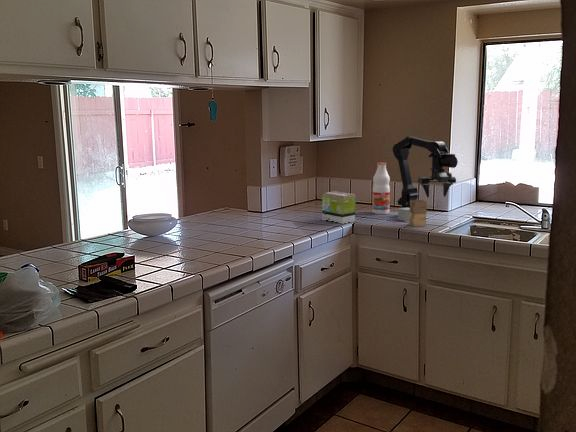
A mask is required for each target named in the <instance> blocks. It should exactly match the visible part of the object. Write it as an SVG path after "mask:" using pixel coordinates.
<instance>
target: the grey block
mask: <svg viewBox="0 0 576 432" xmlns="http://www.w3.org/2000/svg"><path fill="white" fill-rule="evenodd" d="M397 210H398V211H397V219H399V220H398V221H402V220H403V222H410V208H408V207H407V208H401V207H399V208H398V209H397Z"/></svg>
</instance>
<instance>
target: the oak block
mask: <svg viewBox="0 0 576 432" xmlns="http://www.w3.org/2000/svg"><path fill="white" fill-rule="evenodd" d="M409 225H411V226H413V225H414V226H413V227H426V226H427V213H426V214H413V213H410V221H409ZM425 225H426V226H425Z"/></svg>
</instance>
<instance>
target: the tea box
mask: <svg viewBox="0 0 576 432" xmlns="http://www.w3.org/2000/svg"><path fill="white" fill-rule="evenodd" d="M321 196H322V197H321V202H322V203H321V205H322V206H321V208H322V209H321V210H322V213H321V217H322V218H321V220H322V221H326V220H328V222H331V221H334V222H333V223H335V222H338V223H337V224H339V223H342V224H341V225H344V224H343V223H346V224H349V223H348V222H351V223H354V221H355V222H356V196H357V195H356V194H355V193H349V192H342V191H337V190H334V191H328V192H322V195H321Z"/></svg>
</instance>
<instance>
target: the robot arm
mask: <svg viewBox="0 0 576 432" xmlns="http://www.w3.org/2000/svg"><path fill="white" fill-rule="evenodd" d="M413 146H415V147H419V148H422V149H426V150H427V151H428V152H430V154H429V155H428V158H431V168H430V171H431V173H430V176H429V177H425V176H424V177H421V176H420V177H418V179H417V183H418V184H419V185H421V186H422V188H423V190H424V192H425V195H426V198H430V186H431V184H430V183H439V184H440V183H442V184H443V185H442V187H443V189H442V190H443V191H442V192H443V198H445V197H446V196H447V193H448V191H449V189H450V187H451V186H452V185H454V184H456V183H457V179H456V177H455V176H453V175H452V172H451V171H447V172H445V168H451V169H452V168H453V169H454V168H456V167H457V166H458V164H459V163H458V162H459V161H458V158H457V156H456V154H455V153H450V152H449V150H448V148H447V145H446V143H445V142H444V141H440V140H438V141H437V140H436V141H435V140H433V141H432V140H428V139H424V138H421V137H420V138H419V137H415V136H413V135H412V136H411V135H410V136H406V137H404V138H403V139H401V140H400V141H398V142H397V143H395V144H394V145H393V147H392V153H393V155H394V158H395V159H396V160H397V162H398V167H399V171H400V177H401V183H402V189H401V197H400V198H399V199H398V200H397V205H398V206H401V207H400V208H407V207H408V208H410V200H419V195H420V194H419V192H418V187H414V185H413V181H412V175H411V171H410V167H409V166H410V165H409V161H408V159H409V155H410V149H412V148H413Z"/></svg>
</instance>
